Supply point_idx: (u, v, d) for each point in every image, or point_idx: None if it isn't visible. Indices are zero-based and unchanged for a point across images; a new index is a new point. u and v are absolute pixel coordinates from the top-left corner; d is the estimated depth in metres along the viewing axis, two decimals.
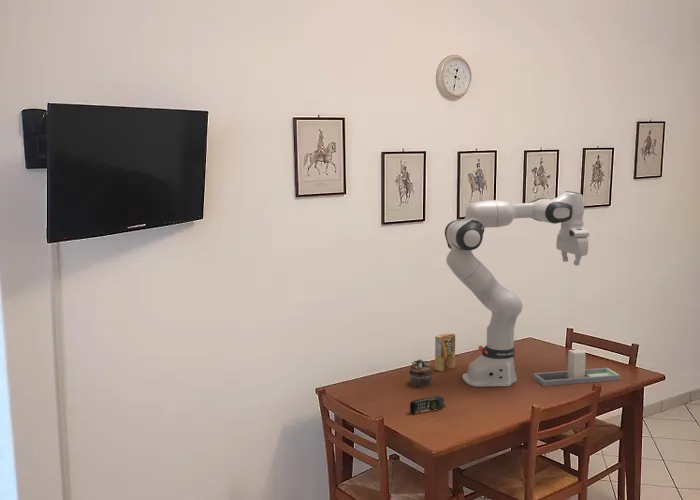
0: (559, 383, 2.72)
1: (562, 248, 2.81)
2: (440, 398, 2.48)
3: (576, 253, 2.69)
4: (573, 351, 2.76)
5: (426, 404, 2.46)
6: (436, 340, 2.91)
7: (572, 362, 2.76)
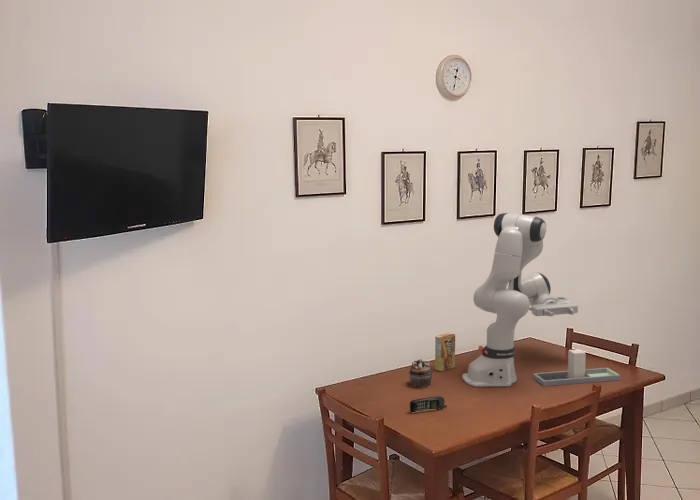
0: (559, 383, 2.72)
1: (547, 307, 2.93)
2: (441, 398, 2.48)
3: (573, 305, 2.94)
4: (573, 351, 2.76)
5: (426, 404, 2.46)
6: (436, 340, 2.90)
7: (572, 362, 2.76)
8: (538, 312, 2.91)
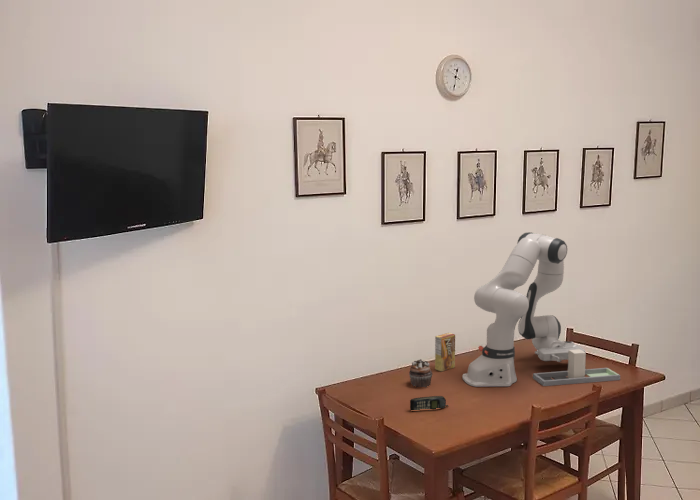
0: (559, 383, 2.72)
1: (555, 351, 2.87)
2: (441, 398, 2.48)
3: None
4: (573, 351, 2.76)
5: (426, 403, 2.47)
6: (436, 340, 2.90)
7: (572, 362, 2.76)
8: (545, 357, 2.85)
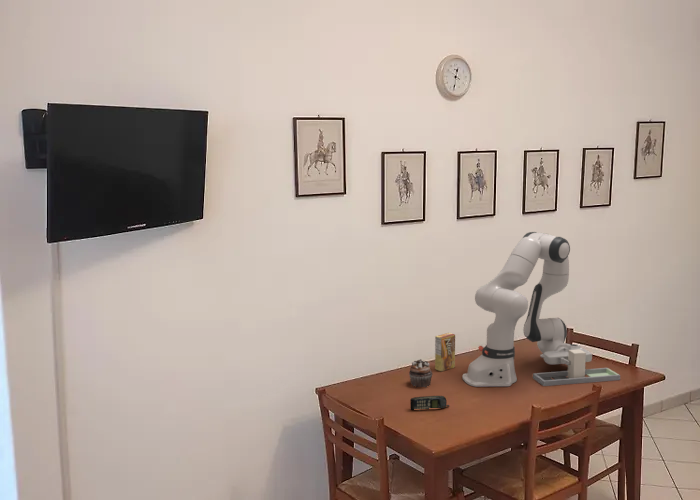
0: (559, 383, 2.72)
1: (560, 355, 2.82)
2: (442, 398, 2.48)
3: (586, 353, 2.84)
4: (573, 351, 2.76)
5: (426, 402, 2.47)
6: (436, 340, 2.90)
7: (572, 362, 2.76)
8: (551, 360, 2.80)
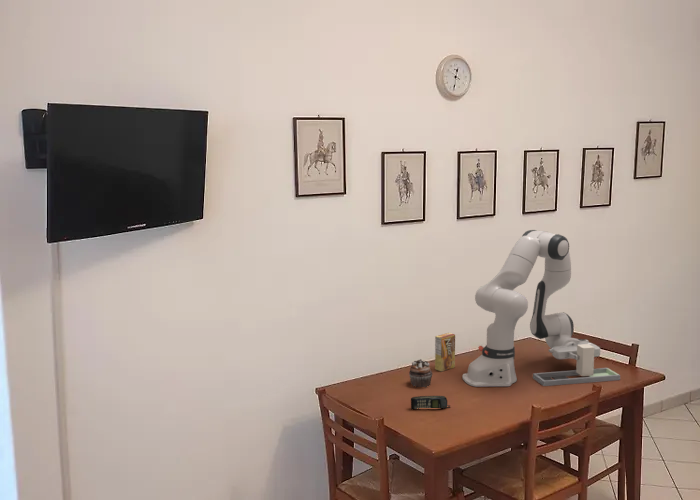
0: (559, 383, 2.72)
1: (569, 349, 2.82)
2: (443, 398, 2.48)
3: (595, 348, 2.84)
4: (582, 346, 2.77)
5: (427, 402, 2.48)
6: (436, 340, 2.90)
7: (581, 357, 2.76)
8: (559, 355, 2.81)
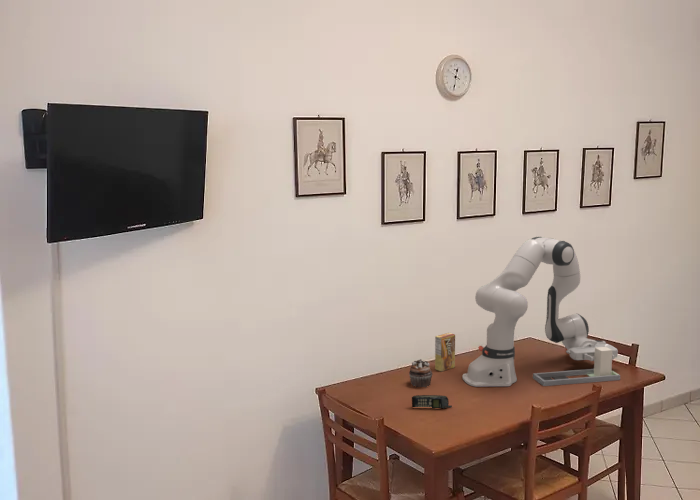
0: (559, 383, 2.72)
1: (587, 351, 2.84)
2: (444, 398, 2.48)
3: (612, 349, 2.85)
4: (599, 348, 2.78)
5: (427, 401, 2.49)
6: (436, 340, 2.90)
7: (599, 359, 2.78)
8: (577, 356, 2.82)
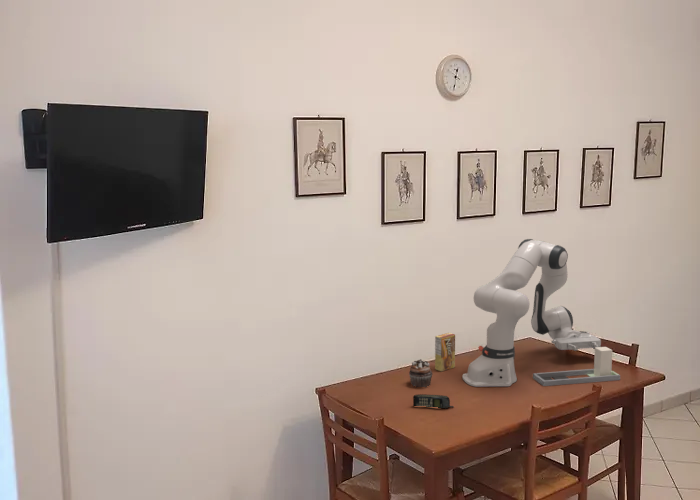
0: (559, 383, 2.72)
1: (571, 341, 2.96)
2: (445, 398, 2.48)
3: (596, 339, 2.98)
4: (599, 348, 2.78)
5: (428, 401, 2.49)
6: (436, 340, 2.90)
7: (599, 359, 2.78)
8: (562, 346, 2.95)
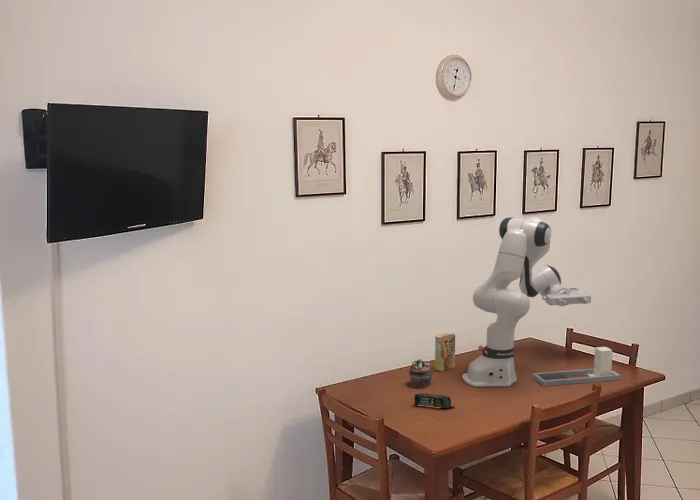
0: (559, 383, 2.72)
1: (561, 296, 2.98)
2: (445, 398, 2.48)
3: (586, 295, 3.00)
4: (599, 348, 2.78)
5: (429, 400, 2.50)
6: (436, 340, 2.91)
7: (599, 359, 2.78)
8: (552, 301, 2.96)
